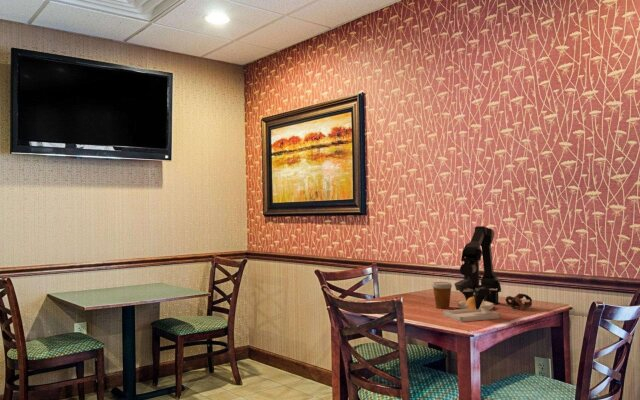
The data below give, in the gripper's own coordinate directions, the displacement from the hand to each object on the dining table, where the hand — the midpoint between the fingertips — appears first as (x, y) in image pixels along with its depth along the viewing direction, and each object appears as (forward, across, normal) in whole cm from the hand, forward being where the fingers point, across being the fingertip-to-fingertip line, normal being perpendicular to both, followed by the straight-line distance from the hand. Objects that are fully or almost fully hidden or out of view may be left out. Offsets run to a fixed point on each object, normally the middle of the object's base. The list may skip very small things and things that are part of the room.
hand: (473, 308), depth 246 cm
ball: (-2, 0, 0) cm, 2 cm away
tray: (+3, +2, -2) cm, 5 cm away
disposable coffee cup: (+4, -23, -2) cm, 23 cm away
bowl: (+3, -16, +12) cm, 20 cm away
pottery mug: (+4, -6, +29) cm, 29 cm away
